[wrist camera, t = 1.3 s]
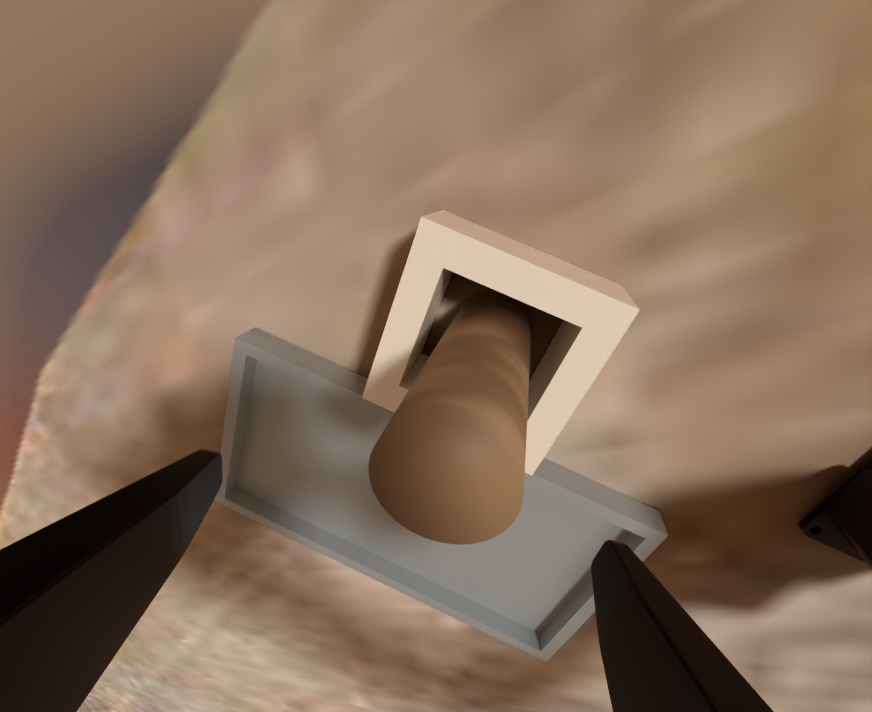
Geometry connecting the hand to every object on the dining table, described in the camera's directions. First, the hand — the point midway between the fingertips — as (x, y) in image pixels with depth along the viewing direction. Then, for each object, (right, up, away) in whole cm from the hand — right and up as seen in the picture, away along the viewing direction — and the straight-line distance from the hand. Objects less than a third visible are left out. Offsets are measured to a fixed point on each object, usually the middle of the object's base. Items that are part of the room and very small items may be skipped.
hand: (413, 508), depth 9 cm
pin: (+3, +5, +12) cm, 13 cm away
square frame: (+3, +5, +12) cm, 13 cm away
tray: (-1, -6, +17) cm, 18 cm away
